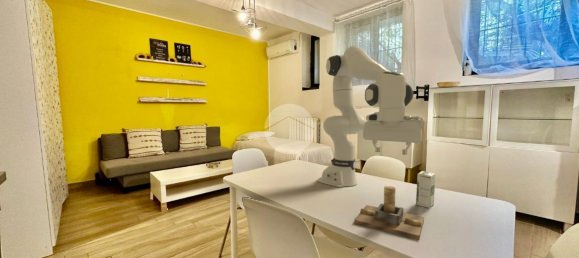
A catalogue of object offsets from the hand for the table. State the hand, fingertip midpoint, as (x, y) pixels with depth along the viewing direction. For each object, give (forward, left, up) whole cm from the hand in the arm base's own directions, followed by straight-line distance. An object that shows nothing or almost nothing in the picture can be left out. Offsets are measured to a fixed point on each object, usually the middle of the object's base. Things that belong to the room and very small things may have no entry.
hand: (390, 153), depth 91 cm
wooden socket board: (0, 0, -27) cm, 27 cm away
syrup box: (+10, +25, -27) cm, 38 cm away
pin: (0, 0, -25) cm, 25 cm away
